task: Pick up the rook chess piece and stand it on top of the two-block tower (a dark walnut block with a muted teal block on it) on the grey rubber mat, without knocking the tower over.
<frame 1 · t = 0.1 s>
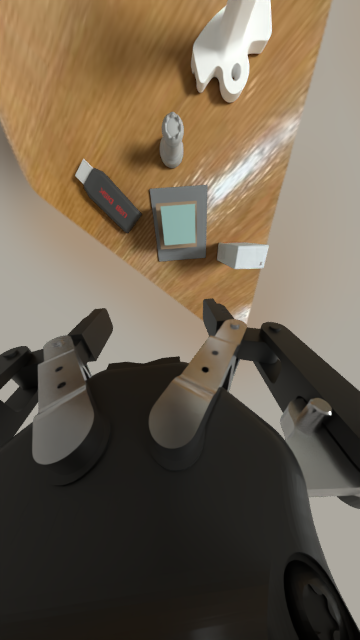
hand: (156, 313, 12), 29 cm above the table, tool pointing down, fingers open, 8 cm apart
skincare box: (228, 251, 37), on the table
rook chess piece: (171, 153, 28), on the table
usb drive: (112, 200, 31), on the table
mat: (180, 227, 34), on the table
walnut block: (176, 227, 33), resting on mat, touching teal block
white ball-topped post: (227, 68, 23), on the table
teal block: (177, 226, 30), point 4 cm above the table, touching walnut block
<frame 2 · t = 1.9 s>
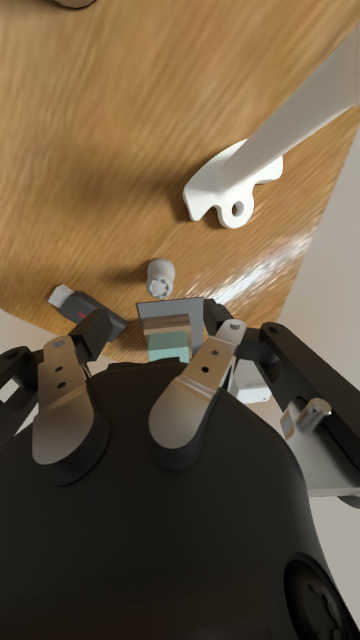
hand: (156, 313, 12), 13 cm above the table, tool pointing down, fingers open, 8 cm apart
skincare box: (227, 345, 34), on the table
rook chess piece: (161, 271, 24), on the table
usb drive: (94, 311, 27), on the table
mat: (174, 330, 30), on the table
walnut block: (169, 332, 29), resting on mat, touching teal block
white ball-topped post: (227, 196, 19), on the table
teal block: (169, 345, 26), point 4 cm above the table, touching walnut block
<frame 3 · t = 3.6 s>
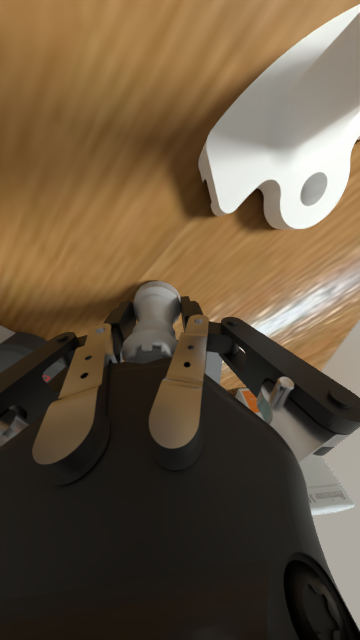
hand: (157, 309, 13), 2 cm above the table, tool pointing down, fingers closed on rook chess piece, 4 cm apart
skincare box: (251, 392, 24), on the table
rook chess piece: (158, 301, 14), on the table, touching gripper
usb drive: (55, 356, 17), on the table
mat: (177, 378, 20), on the table
white ball-topped post: (284, 167, 10), on the table
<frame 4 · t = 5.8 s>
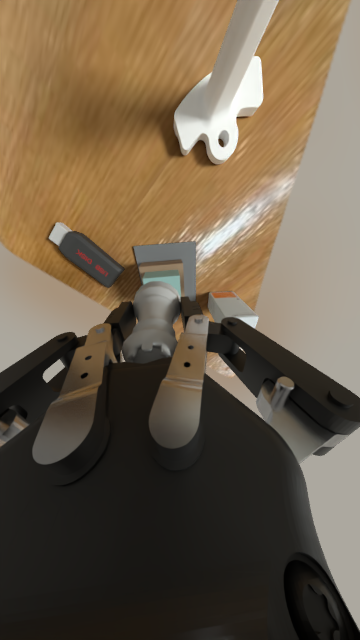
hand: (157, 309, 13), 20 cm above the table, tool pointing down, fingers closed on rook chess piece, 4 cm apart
skincare box: (219, 298, 36), on the table
rook chess piece: (158, 301, 14), point 19 cm above the table, touching gripper
usb drive: (92, 255, 29), on the table
mat: (168, 279, 32), on the table
walnut block: (164, 280, 31), resting on mat, touching teal block
white ball-topped post: (215, 130, 21), on the table
teal block: (163, 286, 28), point 4 cm above the table, touching walnut block
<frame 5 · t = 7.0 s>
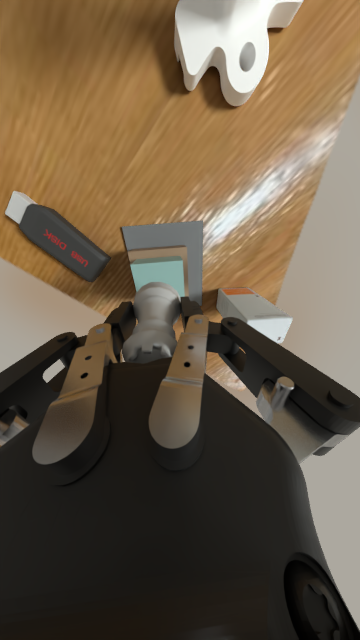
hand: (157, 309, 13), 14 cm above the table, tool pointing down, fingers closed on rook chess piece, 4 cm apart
skincare box: (230, 297, 29), on the table
rook chess piece: (158, 301, 14), point 13 cm above the table, touching gripper
usb drive: (68, 240, 22), on the table
mat: (167, 271, 25), on the table
walnut block: (162, 272, 25), resting on mat, touching teal block
white ball-topped post: (233, 52, 15), on the table
teal block: (161, 279, 21), point 4 cm above the table, touching walnut block
when the fingers open (11 cm above the table, at t = 8.0 s): rook chess piece stays where it is, resting on teal block.
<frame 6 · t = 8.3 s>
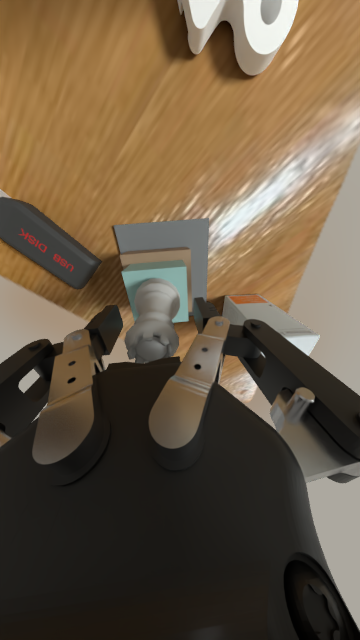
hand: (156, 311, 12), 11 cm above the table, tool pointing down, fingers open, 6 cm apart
skincare box: (238, 304, 26), on the table
rook chess piece: (158, 297, 15), point 8 cm above the table, touching teal block
usb drive: (51, 241, 19), on the table
mat: (167, 277, 22), on the table
walnut block: (161, 278, 22), resting on mat, touching teal block
white ball-topped post: (250, 4, 12), on the table
teal block: (160, 286, 18), point 4 cm above the table, touching rook chess piece, walnut block
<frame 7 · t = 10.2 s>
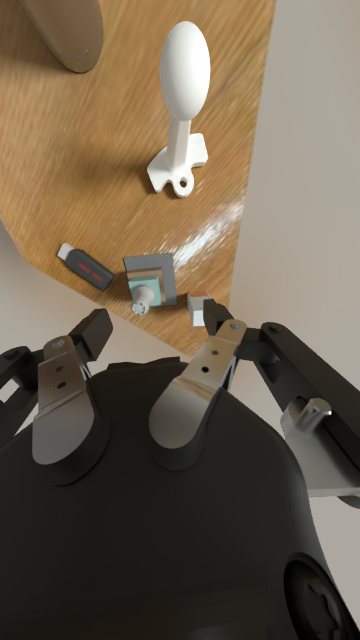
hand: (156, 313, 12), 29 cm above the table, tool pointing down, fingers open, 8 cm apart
skincare box: (196, 298, 43), on the table
rook chess piece: (145, 293, 32), point 8 cm above the table, touching teal block
usb drive: (90, 266, 37), on the table
mat: (153, 282, 39), on the table
walnut block: (149, 283, 39), resting on mat, touching teal block
white ball-topped post: (178, 175, 29), on the table
teal block: (147, 288, 35), point 4 cm above the table, touching rook chess piece, walnut block
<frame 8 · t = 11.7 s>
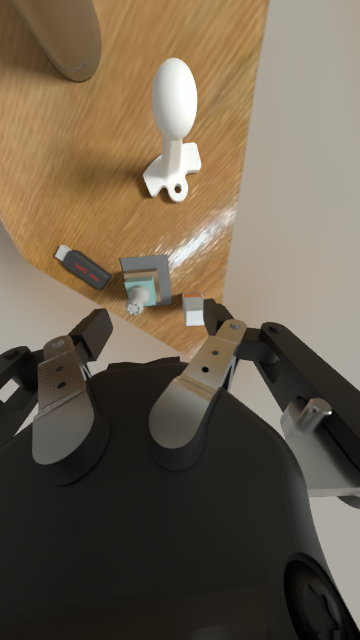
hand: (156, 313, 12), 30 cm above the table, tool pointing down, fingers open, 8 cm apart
skincare box: (191, 298, 44), on the table
rook chess piece: (140, 293, 34), point 8 cm above the table, touching teal block
usb drive: (87, 267, 38), on the table
mat: (148, 283, 41), on the table
walnut block: (145, 283, 40), resting on mat, touching teal block
white ball-topped post: (173, 181, 30), on the table
teal block: (143, 288, 37), point 4 cm above the table, touching rook chess piece, walnut block
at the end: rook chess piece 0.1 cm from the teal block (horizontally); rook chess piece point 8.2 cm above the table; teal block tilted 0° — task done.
